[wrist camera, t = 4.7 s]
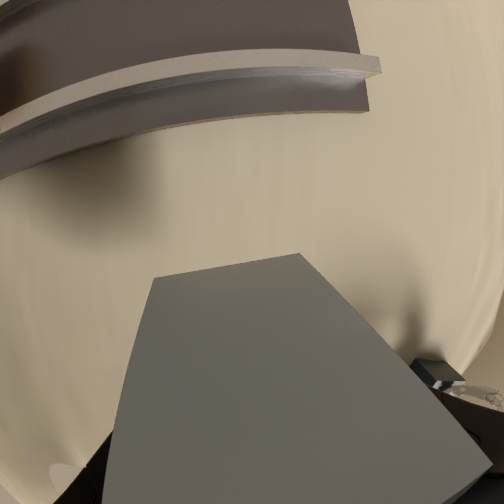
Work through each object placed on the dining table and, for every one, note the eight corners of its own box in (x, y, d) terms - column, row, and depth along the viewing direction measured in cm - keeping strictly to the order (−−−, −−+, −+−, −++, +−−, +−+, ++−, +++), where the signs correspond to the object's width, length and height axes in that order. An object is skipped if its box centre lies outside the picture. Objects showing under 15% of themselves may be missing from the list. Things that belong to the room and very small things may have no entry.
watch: (374, 413, 21) (433, 505, 11) (427, 340, 19) (515, 425, 9) (410, 412, 22) (466, 485, 12) (457, 346, 21) (531, 415, 10)
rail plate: (-38, 197, 10) (-63, 205, 8) (-33, 29, 6) (-53, 21, 4) (359, 113, 13) (386, 108, 11) (320, -56, 9) (335, -76, 7)
